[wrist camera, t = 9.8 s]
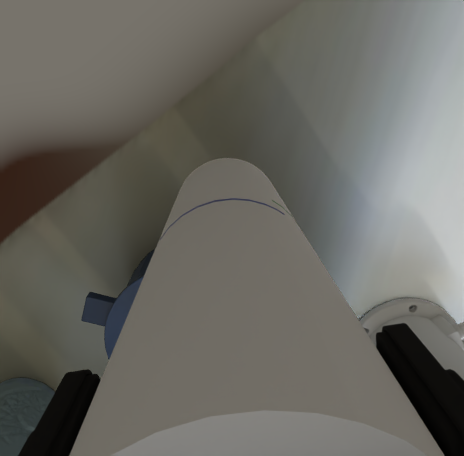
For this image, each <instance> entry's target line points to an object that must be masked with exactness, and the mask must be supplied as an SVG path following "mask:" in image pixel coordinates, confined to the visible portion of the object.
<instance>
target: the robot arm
mask: <svg viewBox="0 0 464 456" xmlns="http://www.w3.org/2000/svg"><path fill="white" fill-rule="evenodd" d="M359 322H360V323H361V325H362V326H363V328H364V329H365V331H366V333H367V334H368V336H369V337H370V339H371V340H372V342H373V344H374V345H375V347H376V348H377V350H378V351H379V353H380V355H381V356H382V358H383V359H384V361H385V363H386V364H387V366H388V367H389V369H390V370H391V372H392V374H393V375H394V377H395V378H396V380H397V381H398V383H399V385H400V386H401V388H402V389H403V391H404V392H405V394H406V396H407V397H408V399H409V400H410V402H411V403H412V405H413V407H414V408H415V410H416V411H417V413H418V415H419V416H420V418H421V419H422V421H423V422H424V424H425V426H426V427H427V429H428V430H429V432H430V433H431V435H432V437H433V438H434V440H435V441H436V443H437V444H438V446H439V448H440V449H441V451H442V452H443V454H444V455H445V456H464V322H462V323H460V324H458V325H457V323H456V322H455V320H454V319H453V318H452V317H451V316H450V315H449V314H448V313H447V312H446V311H445V310H444V309H442V308H441V307H440V306H438V305H436V304H434V303H432V302H430V301H426V300H422V299H417V298H404V299H396V300H393V301H389V302H386V303H384V304H382V305H379V306H377V307H375V308H374V309H372V310H371V311H370V312H368V313H367V314H366V315H365V316H364V317H363V318H362V319H361V320H360V321H359ZM99 383H100V378H99V376H98V375H97V374H93V375H92V372H91V371H90V370H81V371H75V372H68V373H66V374H65V376H64V377H63V379H62V381H61V383H60V385H59V386H58V388H57V390H56V392H55V394H54V396H53V397H52V399H51V401H50V403H49V405H48V406H47V408H46V410H45V412H44V414H43V415H42V417H41V419H40V421H39V423H38V424H37V426H36V428H35V430H34V431H33V432H32V433H31V434H30V435H29V437H28V438H27V440H26V442H25V444H24V446H23V447H22V449H21V451H20V453H19V455H18V456H69V455H70V453H71V450H72V448H73V446H74V443H75V441H76V438H77V436H78V434H79V431H80V429H81V426H82V424H83V422H84V419H85V417H86V414H87V412H88V410H89V407H90V405H91V402H92V400H93V398H94V395H95V393H96V390H97V388H98V385H99Z"/></svg>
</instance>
